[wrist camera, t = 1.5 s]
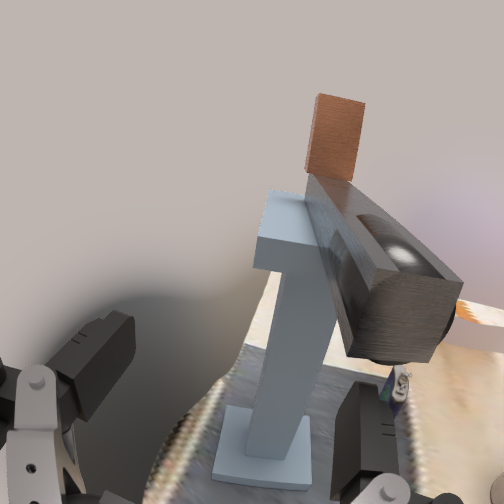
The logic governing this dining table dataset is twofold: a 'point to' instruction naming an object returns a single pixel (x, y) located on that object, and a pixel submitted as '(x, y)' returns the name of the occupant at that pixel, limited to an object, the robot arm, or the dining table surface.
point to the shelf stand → (282, 358)
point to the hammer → (371, 252)
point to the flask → (396, 388)
